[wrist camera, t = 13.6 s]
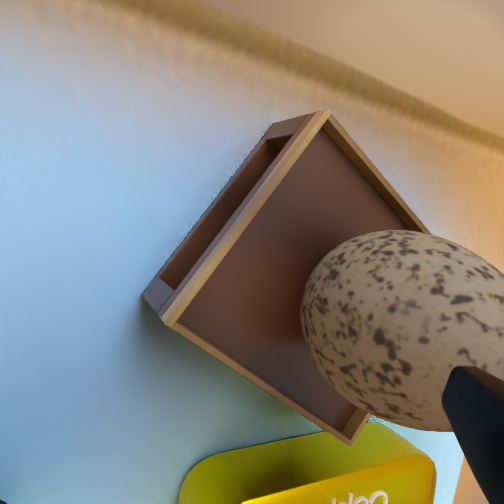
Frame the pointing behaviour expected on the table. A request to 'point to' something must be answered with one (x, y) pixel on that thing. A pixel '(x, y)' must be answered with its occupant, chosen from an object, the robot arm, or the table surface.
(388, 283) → the decorative egg
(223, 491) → the element tile
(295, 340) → the shallow square tray
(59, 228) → the table surface
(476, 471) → the robot arm
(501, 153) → the table surface
